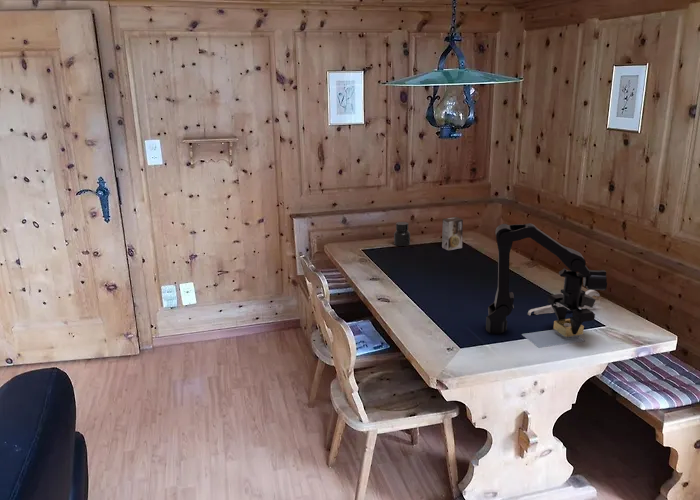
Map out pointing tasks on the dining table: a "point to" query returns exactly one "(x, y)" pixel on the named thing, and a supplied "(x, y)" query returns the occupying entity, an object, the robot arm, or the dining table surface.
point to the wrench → (550, 310)
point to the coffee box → (452, 233)
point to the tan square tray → (566, 328)
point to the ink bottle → (402, 234)
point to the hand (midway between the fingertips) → (568, 330)
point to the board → (551, 338)
